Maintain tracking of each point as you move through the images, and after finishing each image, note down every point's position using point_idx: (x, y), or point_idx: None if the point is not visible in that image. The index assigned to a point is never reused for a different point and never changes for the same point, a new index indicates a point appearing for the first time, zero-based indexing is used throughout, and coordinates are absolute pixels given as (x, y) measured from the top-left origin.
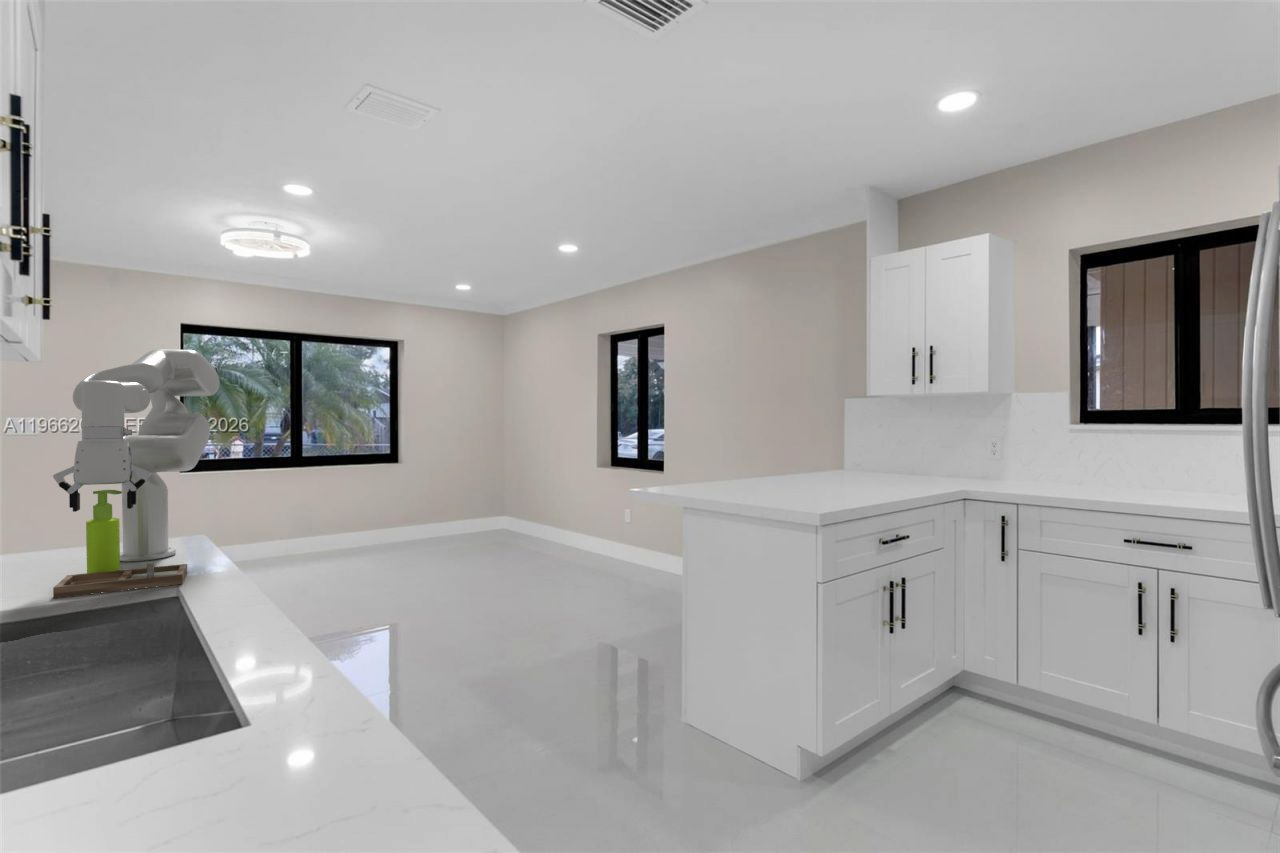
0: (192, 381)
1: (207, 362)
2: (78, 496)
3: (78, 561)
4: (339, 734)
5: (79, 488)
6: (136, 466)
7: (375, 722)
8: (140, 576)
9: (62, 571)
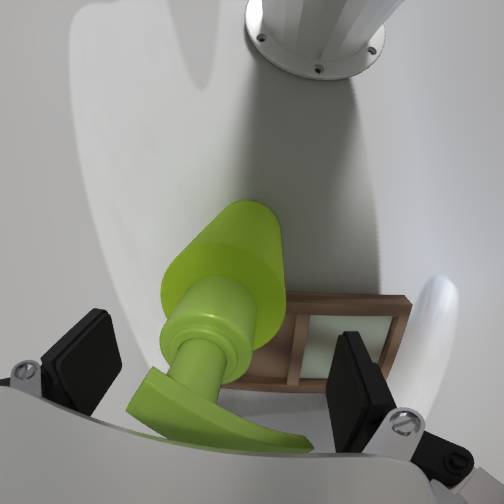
0: None
1: None
2: (80, 385)
3: (168, 13)
4: None
5: (40, 386)
6: None
7: None
8: (324, 335)
9: (148, 113)
